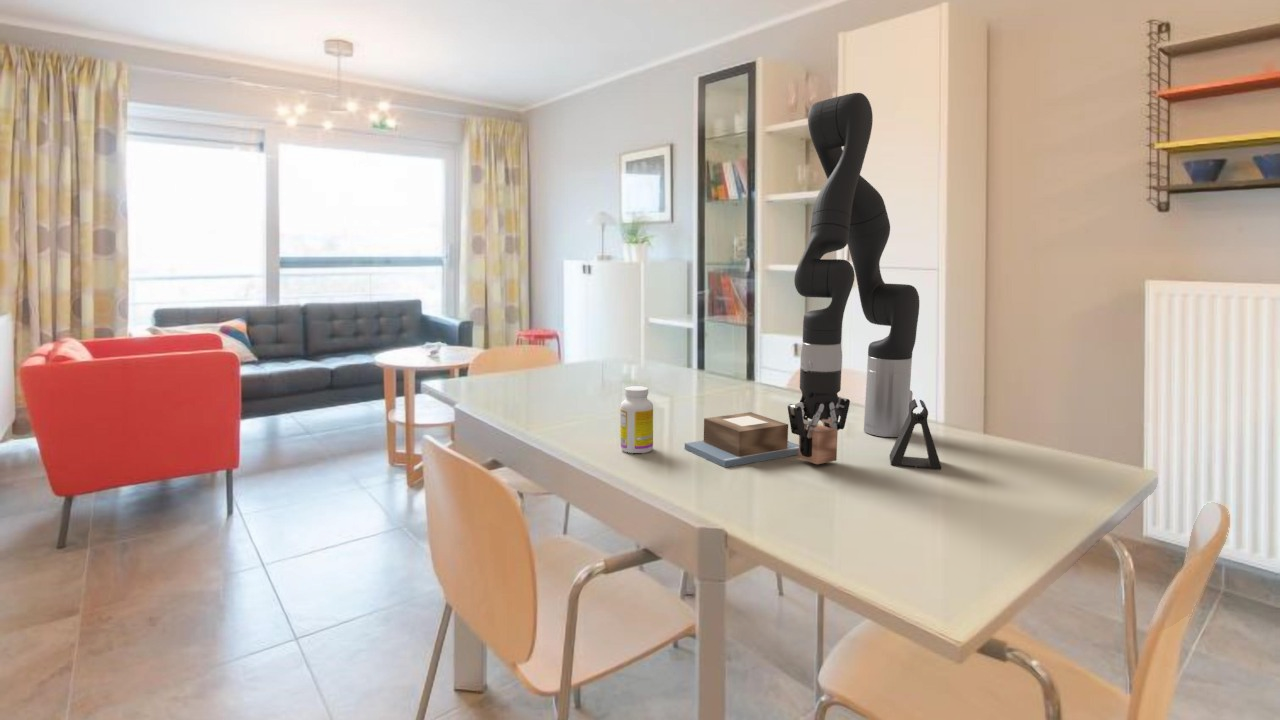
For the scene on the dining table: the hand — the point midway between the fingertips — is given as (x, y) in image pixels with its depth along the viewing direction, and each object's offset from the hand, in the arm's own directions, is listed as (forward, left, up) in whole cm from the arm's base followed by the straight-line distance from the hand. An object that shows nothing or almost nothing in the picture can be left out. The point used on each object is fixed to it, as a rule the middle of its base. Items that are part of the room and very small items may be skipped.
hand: (817, 453), depth 135 cm
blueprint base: (+7, -13, -2) cm, 15 cm away
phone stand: (-17, +9, -2) cm, 19 cm away
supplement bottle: (+26, -24, -2) cm, 36 cm away
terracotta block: (0, 0, -1) cm, 1 cm away
